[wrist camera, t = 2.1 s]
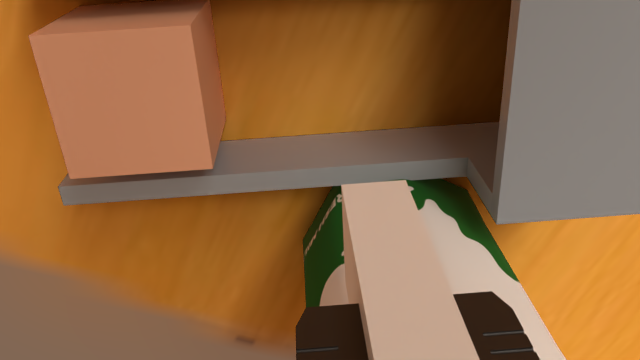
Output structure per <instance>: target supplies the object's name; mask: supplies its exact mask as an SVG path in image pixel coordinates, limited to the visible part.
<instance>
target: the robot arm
mask: <svg viewBox="0 0 640 360" xmlns="http://www.w3.org/2000/svg"><path fill="white" fill-rule="evenodd" d="M341 191H342V215H343V239H344V264H345V282H346V288H347V295H348V301H349V304H343V305H330V306H317V307H306V309H305V311H304V313H303V314H302V316H301V318H300V320H299V322H298V324H297V326H296V360H540V359H539V357H538V355H537V353H536V352H534V350H533V346H532V344H531V342H530V340H529V338H528V336H527V334H524V329H523V327H522V325H521V323H520V322H519V320H518V318H517V316H516V314H515V312H514V310H513V309H512V308H511V307H510V306H509V305H508V304H507V303H505V302H504V301H503V300H502V299H501V298H499V297H498V296H497V295H496V294H495V293H493V292H492V291H488V292H475V293H463V294H452V291H451V289H450V287H449V284H448V282H447V279H446V277H445V274H444V272H443V270H442V267H441V265H440V262H439V260H438V257H437V255H436V253H435V250H434V248H433V245H432V243H431V240H430V238H429V236H428V233H427V231H426V228H425V226H424V223H423V221H422V219H421V216H420V214H419V211H418V209H417V206H416V204H415V202H414V199H413V197H412V194H411V192H410V189H409V187H408V184H407V182H406V180H399V181H385V182H371V183H358V184H344V185H341Z"/></svg>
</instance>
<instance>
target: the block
mask: <svg viewBox="0 0 640 360" xmlns="http://www.w3.org/2000/svg"><path fill="white" fill-rule="evenodd" d="M28 37H29V40H30V44H31V47H32V50H33V54H34V57H35V61H36V64H37V68H38V71H39V74H40V78H41V81H42V85H43V88H44V92H45V95H46V98H47V102H48V105H49V109H50V112H51V116H52V119H53V122H54V126H55V129H56V133H57V136H58V140H59V143H60V146H61V150H62V153H63V157H64V160H65V163H66V167H67V170H68V174H69V177H70V179H77V178H91V177H105V176H119V175H133V174H147V173H162V172H176V171H190V170H204V169H213V167H214V163H215V159H216V155H217V151H218V148H219V144H220V140H221V136H222V132H223V128H224V124H225V121H226V113H225V106H224V99H223V91H222V84H221V77H220V70H219V63H218V56H217V48H216V41H215V34H214V27H213V20H212V12H211V5H210V0H164V1H148V2H133V3H117V4H101V5H86V6H79V7H77V8H75V9H74V10H72V11H70V12H69V13H67V14H65V15H63V16H62V17H60V18H58V19H56V20H55V21H53V22H51V23H50V24H48V25H46V26H44V27H43V28H41V29H39V30H37V31H36V32H34V33H32V34H31V35H29V36H28Z"/></svg>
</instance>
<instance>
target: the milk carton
mask: <svg viewBox="0 0 640 360" xmlns="http://www.w3.org/2000/svg"><path fill="white" fill-rule="evenodd" d="M399 180H406V182H407V184H408V187H409V189H410V192H411V194H412V197H413V199H414V202H415V204H416V206H417V209H418V211H419V214H420V216H421V219H422V221H423V223H424V226H425V228H426V231H427V233H428V236H429V238H430V240H431V243H432V245H433V248H434V250H435V253H436V255H437V257H438V260H439V262H440V265H441V267H442V270H443V272H444V274H445V277H446V279H447V282H448V284H449V287H450V289H451V291H452V294H463V293H475V292H488V291H492V292H493V293H495V294H496V295H497V296H498V297H499V298H501V299H502V300H503V301H504V302H505V303H507V304H508V305H509V306H510V307H511V308H512V309H513V310H514V312H515V314H516V316H517V318H518V320H519V322H520V323H521V325H522V327H523V329H524V334H527V336H528V338H529V340H530V342H531V344H532V346H533V350H534V352H536V353H537V355H538V357H539V359H540V360H566V358H565V357H564V355H563V354H562V352H561V351H560V349H559V348H558V346H557V344H556V343H555V341H554V339H553V338H552V336H551V334H550V333H549V331H548V329H547V328H546V326H545V324H544V323H543V321H542V319H541V318H540V316H539V314H538V313H537V311H536V309H535V307H534V306H533V304H532V302H531V301H530V299H529V297H528V296H527V294H526V292H525V291H524V289H523V287H522V286H521V284H520V282H519V280H518V279H517V277H516V275H515V274H514V272H513V270H512V269H511V267H510V265H509V264H508V262H507V260H506V258H505V257H504V255H503V253H502V252H501V250H500V248H499V247H498V245H497V243H496V242H495V240H494V238H493V237H492V235H491V233H490V231H489V230H488V228H487V226H486V225H485V223H484V221H483V219H482V217H481V215H480V213H479V211H478V210H477V208H476V206H475V204H474V202H473V200H472V198H471V197H470V195H469V193H468V191H467V190H466V189H464V188H461V187H459V186H457V185H455V184H452V183H450V182H448V181H446V180H443V179H441V178H438V179H424V180H407V179H398V180H390V181H399ZM384 182H385V181H384ZM303 253H304V273H305V294H306V307H317V306H330V305H343V304H349V301H348V295H347V288H346V282H345V264H344V239H343V215H342V191H341V186H333V187H332V189H331V190H330V192H329V194H328V196H327V198H326V199H325V201H324V203H323V205H322V207H321V208H320V210H319V212H318V214H317V216H316V217H315V219H314V221H313V223H312V225H311V226H310V228H309V230H308V232H307V234H306V235H305V237H304V239H303Z"/></svg>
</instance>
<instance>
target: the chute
mask: <svg viewBox="0 0 640 360" xmlns="http://www.w3.org/2000/svg"><path fill="white" fill-rule="evenodd" d="M466 176H467V178H468V179H469V181H470V183H471V184H472V186H473V187H474V189H475V191H476V192H477V194H478V195H479V197H480V199H481V200H482V202H483V204H484V205H485V207H486V208H487V210H488V212H489V213H490V215H491V216H492V218H493V220H494V221H495V223H496V224H509V223H523V222H536V221H550V220H563V219H577V218H590V217H604V216H617V215H631V214H640V0H512V3H511V13H510V23H509V33H508V43H507V52H506V62H505V72H504V82H503V92H502V102H501V112H500V122H486V123H472V124H458V125H444V126H429V127H415V128H401V129H387V130H372V131H358V132H344V133H330V134H315V135H301V136H287V137H273V138H258V139H244V140H230V141H220V144H219V148H218V151H217V155H216V159H215V163H214V167H213V169H204V170H190V171H176V172H162V173H147V174H133V175H119V176H105V177H91V178H77V179H70V177H69V174H67V176H66V177H65V178H64V179H63V181H62V182H61V183H60V185H59V186H58V188H59V192H60V195H61V198H62V202H63V205H78V204H92V203H106V202H120V201H133V200H147V199H161V198H175V197H189V196H203V195H216V194H230V193H244V192H258V191H272V190H286V189H300V188H313V187H327V186H341V185H344V184H358V183H371V182H384V181H390V180H398V179H407V180H424V179H438V178H452V177H466Z"/></svg>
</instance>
